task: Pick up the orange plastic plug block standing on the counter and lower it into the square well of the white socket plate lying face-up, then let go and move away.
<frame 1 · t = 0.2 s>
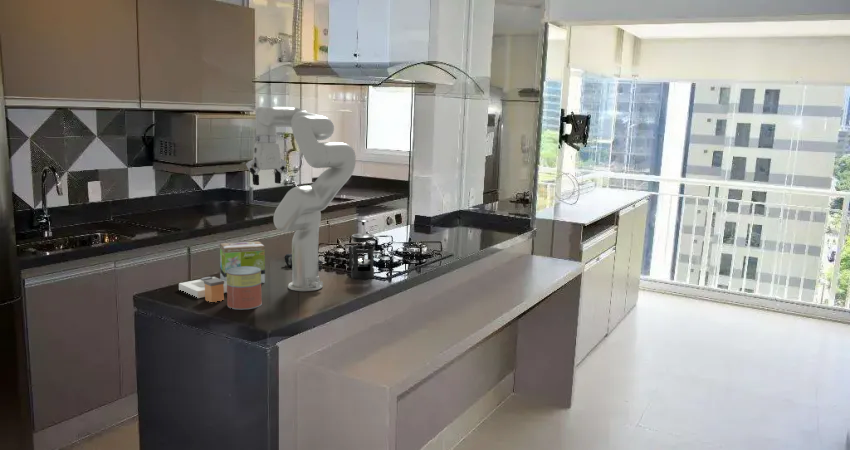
hand: (267, 184, 251), 36 cm above the countertop, tool pointing down, fingers open, 9 cm apart
canned food: (244, 305, 219), on the countertop
french press: (361, 277, 259), on the countertop
plug: (214, 300, 223), on the countertop
can opener: (303, 268, 272), on the countertop
socket plate: (206, 290, 234), on the countertop
tea box: (243, 282, 247), on the countertop
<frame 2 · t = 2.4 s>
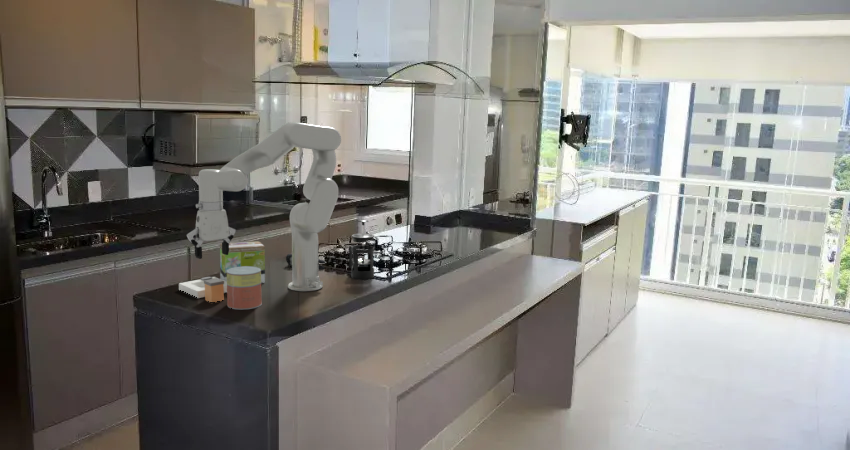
hand: (212, 256, 220), 16 cm above the countertop, tool pointing down, fingers open, 9 cm apart
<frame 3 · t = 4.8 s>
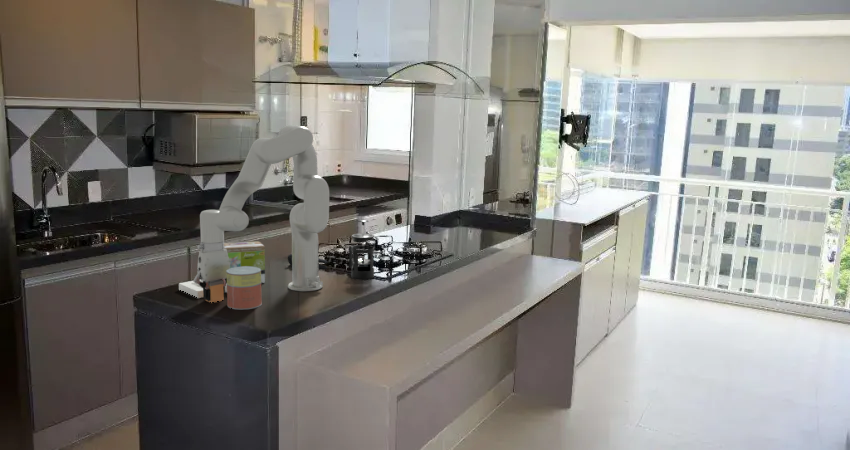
hand: (214, 297, 223), 1 cm above the countertop, tool pointing down, fingers closed on plug, 4 cm apart
plug: (214, 300, 223), on the countertop, touching gripper
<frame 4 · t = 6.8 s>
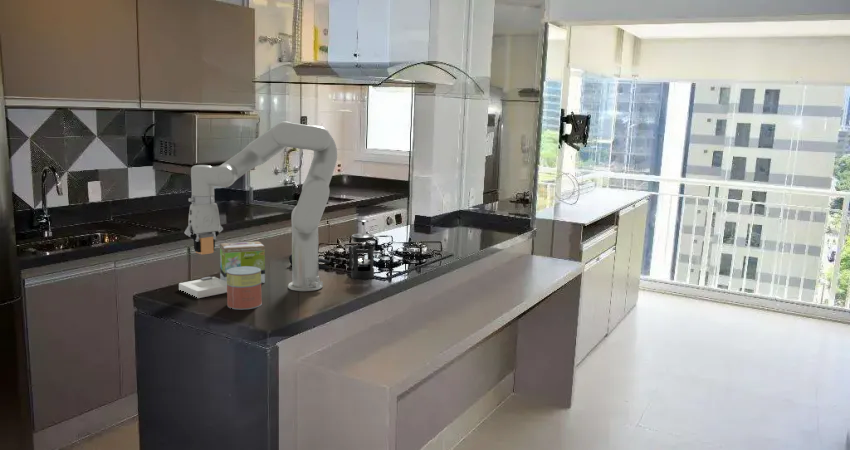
hand: (204, 250, 232), 15 cm above the countertop, tool pointing down, fingers closed on plug, 4 cm apart
plug: (204, 252, 232), point 14 cm above the countertop, touching gripper
when the fingers open (3 cm above the countertop, at t = 9.0 s): plug drops 1 cm, resting on socket plate.
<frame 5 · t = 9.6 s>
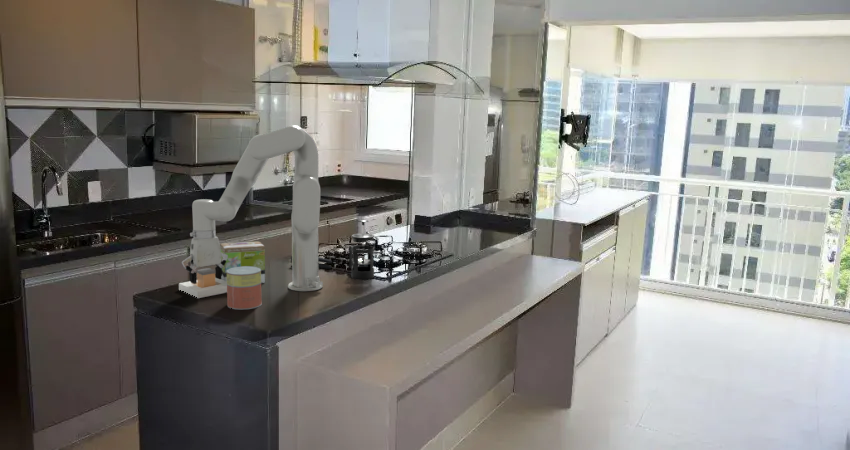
hand: (206, 280, 234), 4 cm above the countertop, tool pointing down, fingers open, 9 cm apart
plug: (206, 289, 234), point 1 cm above the countertop, touching socket plate
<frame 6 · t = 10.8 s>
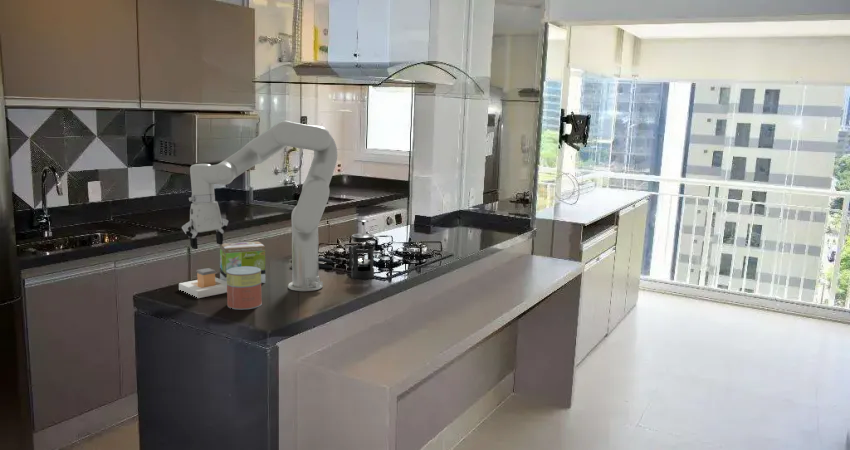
hand: (207, 246, 232), 16 cm above the countertop, tool pointing down, fingers open, 9 cm apart
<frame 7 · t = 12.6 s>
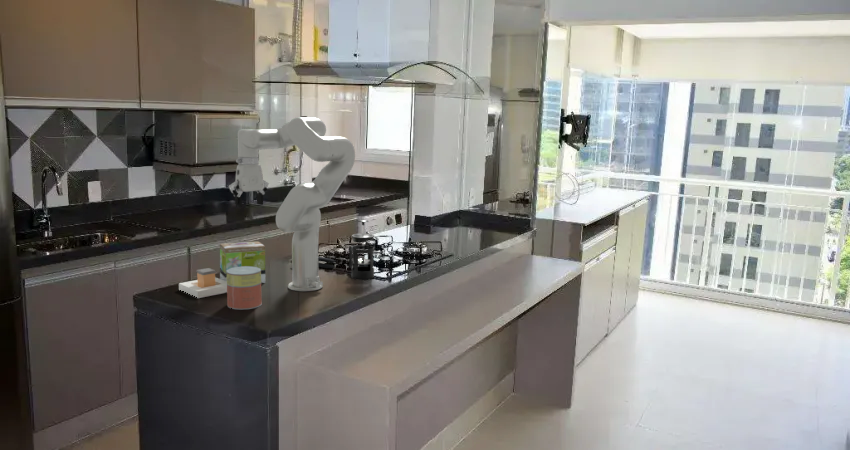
hand: (249, 205, 252), 28 cm above the countertop, tool pointing down, fingers open, 9 cm apart
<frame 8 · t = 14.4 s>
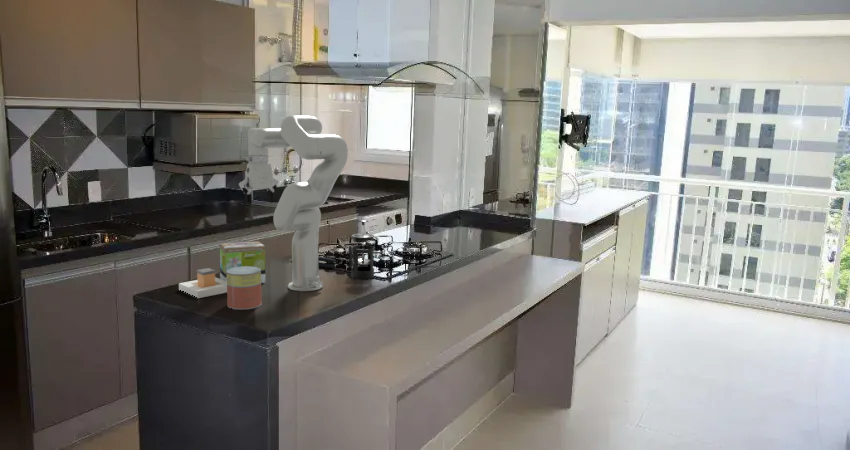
hand: (259, 203, 257), 28 cm above the countertop, tool pointing down, fingers open, 9 cm apart
at the end: plug 0.1 cm off-centre on the socket plate, point 0.5 cm above the socket plate's base; plug tilted 0°; the gripper is holding nothing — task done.
